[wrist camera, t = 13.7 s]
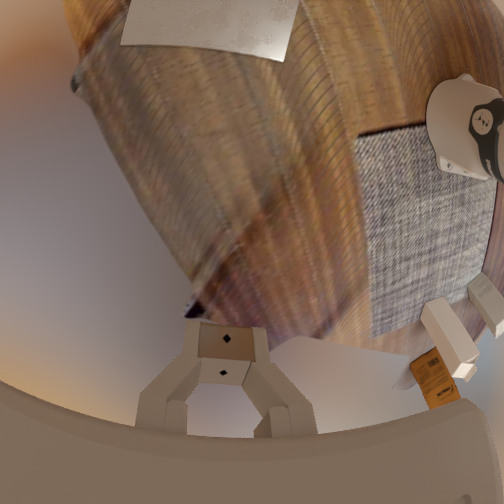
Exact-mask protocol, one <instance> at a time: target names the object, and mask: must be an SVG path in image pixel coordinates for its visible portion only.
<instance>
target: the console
mask: <svg viewBox="0 0 504 504" xmlns="http://www.w3.org/2000/svg"><path fill="white" fill-rule="evenodd" d="M298 4H299V0H131V4H130V7H129V11H128V14H127V18H126V22H125V26H124V30H123V34H122V38H121V43H120V45H121V46H125V47H133V46H157V47H180V48H193V49H203V50H211V51H219V52H226V53H233V54H239V55H244V56H250V57H255V58H260V59H264V60H269V61H273V62H277V63H282V62H283V61H284V57H285V53H286V49H287V45H288V42H289V38H290V34H291V30H292V26H293V22H294V19H295V15H296V11H297V7H298Z"/></svg>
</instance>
